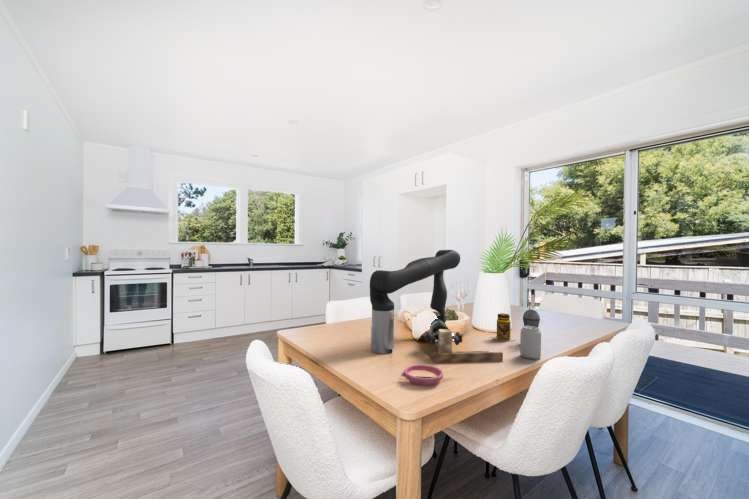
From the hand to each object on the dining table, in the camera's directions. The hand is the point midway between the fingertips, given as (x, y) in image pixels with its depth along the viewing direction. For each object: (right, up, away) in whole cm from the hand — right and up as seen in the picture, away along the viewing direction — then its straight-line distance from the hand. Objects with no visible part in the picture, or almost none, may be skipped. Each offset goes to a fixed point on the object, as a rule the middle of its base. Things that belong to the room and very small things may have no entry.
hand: (445, 342), depth 123 cm
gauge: (0, -6, 0) cm, 6 cm away
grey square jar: (+35, -8, +8) cm, 37 cm away
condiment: (+34, -8, +34) cm, 49 cm away
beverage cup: (+44, -8, +26) cm, 52 cm away
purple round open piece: (-11, -8, -17) cm, 22 cm away
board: (+7, -8, +2) cm, 11 cm away
